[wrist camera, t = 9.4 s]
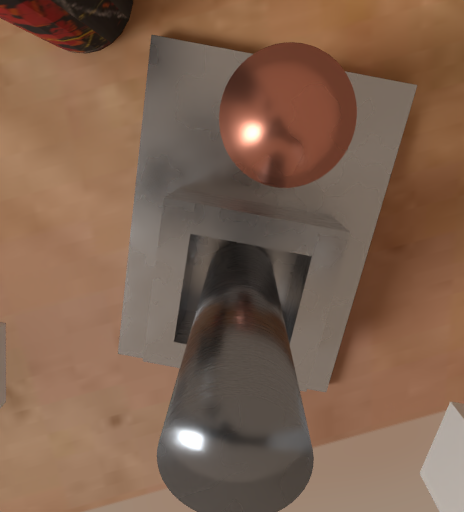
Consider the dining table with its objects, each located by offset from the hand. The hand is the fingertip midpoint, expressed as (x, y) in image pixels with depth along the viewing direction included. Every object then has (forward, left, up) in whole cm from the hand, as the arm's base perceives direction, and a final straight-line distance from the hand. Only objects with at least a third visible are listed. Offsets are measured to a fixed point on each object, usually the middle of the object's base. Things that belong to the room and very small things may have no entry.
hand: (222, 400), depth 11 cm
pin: (0, 0, -12) cm, 12 cm away
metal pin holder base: (-2, 0, -13) cm, 13 cm away
